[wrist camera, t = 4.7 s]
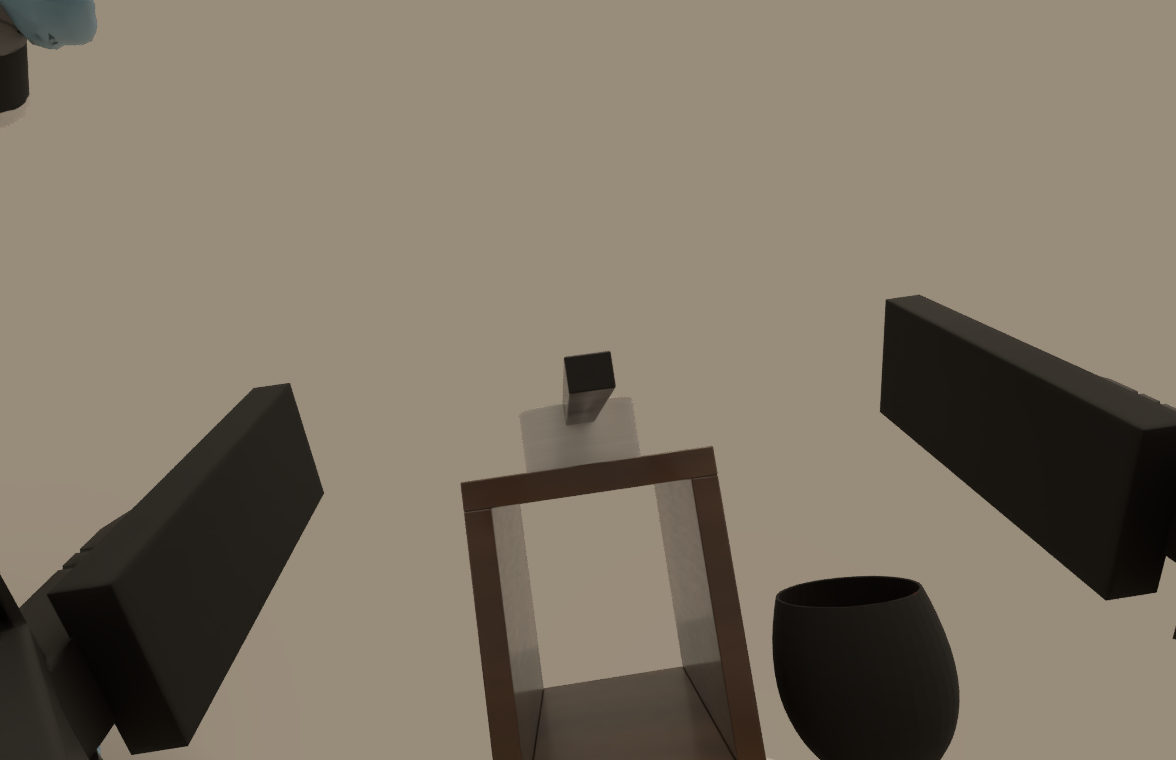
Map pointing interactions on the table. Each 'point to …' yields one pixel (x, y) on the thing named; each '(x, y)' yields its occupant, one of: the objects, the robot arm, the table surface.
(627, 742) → the shelf
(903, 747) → the wine glass
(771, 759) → the table surface
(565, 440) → the pan
